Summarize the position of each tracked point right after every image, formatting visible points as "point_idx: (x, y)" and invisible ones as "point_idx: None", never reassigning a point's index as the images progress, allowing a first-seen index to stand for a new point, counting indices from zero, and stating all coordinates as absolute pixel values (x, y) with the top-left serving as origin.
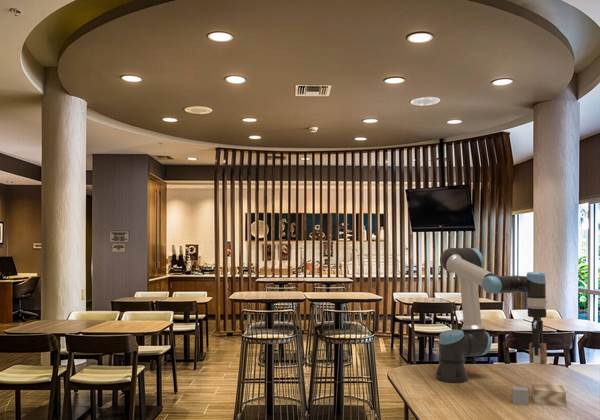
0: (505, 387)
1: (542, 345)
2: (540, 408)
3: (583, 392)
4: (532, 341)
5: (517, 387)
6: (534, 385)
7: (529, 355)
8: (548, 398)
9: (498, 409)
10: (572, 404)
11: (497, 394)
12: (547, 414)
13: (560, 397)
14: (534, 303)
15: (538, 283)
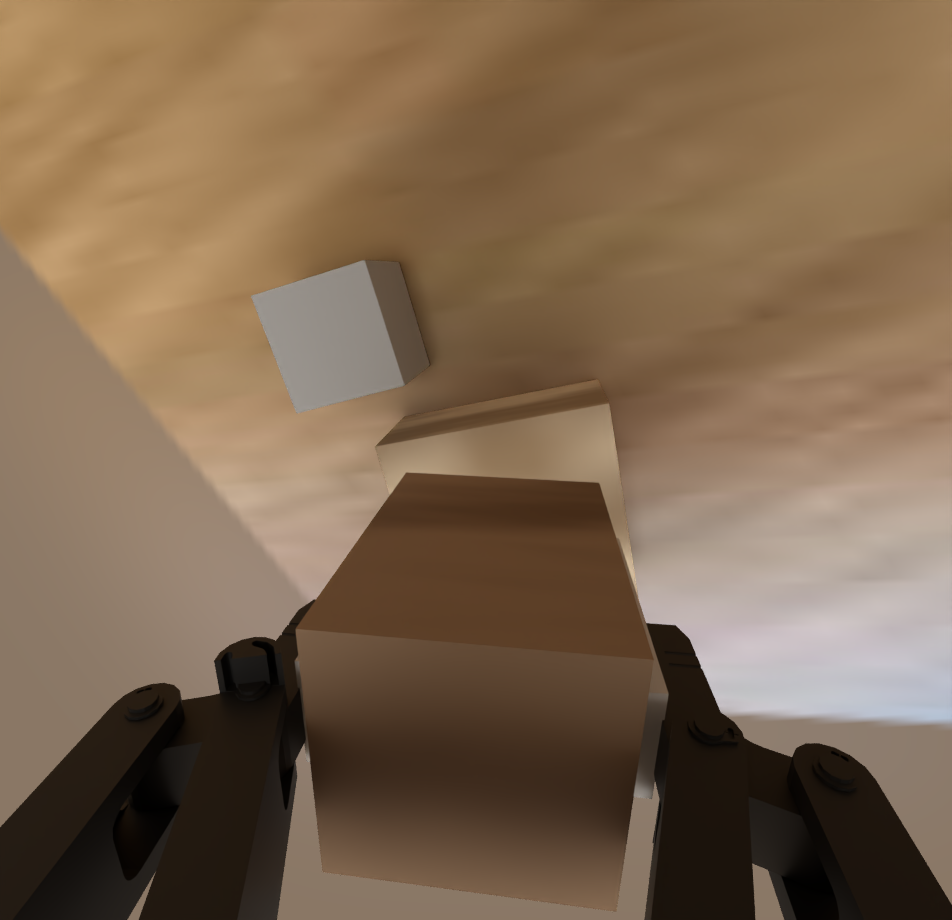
0: (825, 106)
1: (323, 845)
2: (321, 460)
3: (897, 667)
4: (49, 785)
5: (337, 316)
6: (516, 431)
7: (375, 516)
8: None
9: (117, 227)
10: None
11: (513, 107)
12: (228, 504)
13: None
14: None
15: None
